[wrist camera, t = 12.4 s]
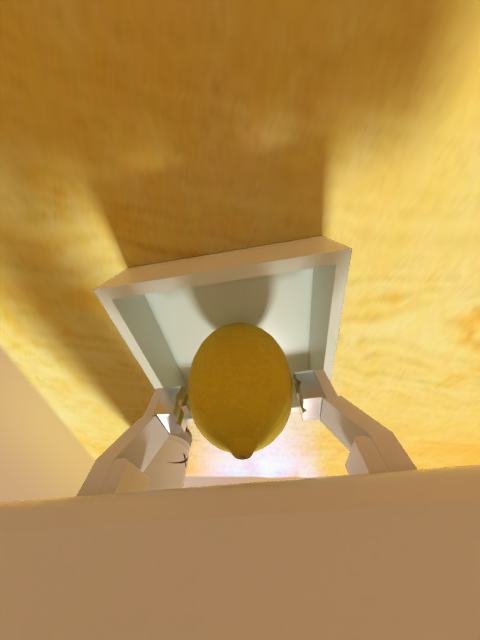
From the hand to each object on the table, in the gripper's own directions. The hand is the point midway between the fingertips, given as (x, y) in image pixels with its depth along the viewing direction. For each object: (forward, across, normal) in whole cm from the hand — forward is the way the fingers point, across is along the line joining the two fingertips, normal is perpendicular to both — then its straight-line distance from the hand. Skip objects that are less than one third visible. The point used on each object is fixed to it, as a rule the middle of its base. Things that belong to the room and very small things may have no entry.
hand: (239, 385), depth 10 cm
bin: (+5, 0, 0) cm, 5 cm away
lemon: (+5, 0, 0) cm, 5 cm away
